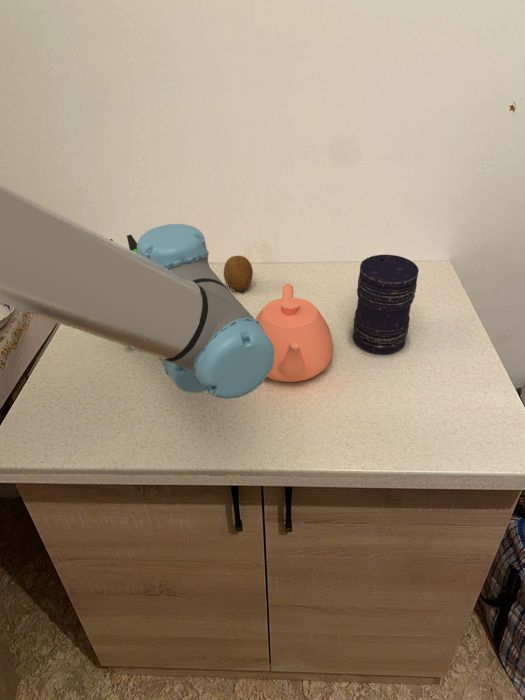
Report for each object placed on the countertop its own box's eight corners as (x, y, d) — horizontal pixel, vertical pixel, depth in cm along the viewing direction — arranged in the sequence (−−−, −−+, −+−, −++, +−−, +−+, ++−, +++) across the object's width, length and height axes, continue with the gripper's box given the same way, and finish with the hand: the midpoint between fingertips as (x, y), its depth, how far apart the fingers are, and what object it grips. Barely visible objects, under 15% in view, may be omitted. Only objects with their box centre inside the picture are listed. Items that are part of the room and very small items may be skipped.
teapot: (340, 406, 80) (346, 345, 73) (246, 408, 80) (242, 348, 73) (325, 325, 97) (329, 269, 90) (247, 328, 98) (244, 272, 90)
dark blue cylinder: (415, 350, 91) (430, 278, 81) (364, 359, 89) (373, 287, 80) (391, 320, 98) (403, 251, 89) (344, 327, 97) (350, 258, 88)
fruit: (221, 295, 107) (218, 262, 102) (229, 280, 112) (226, 248, 107) (249, 298, 106) (247, 264, 101) (256, 283, 111) (255, 250, 106)
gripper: (113, 348, 70) (80, 274, 87) (217, 317, 75) (167, 253, 92) (101, 303, 65) (68, 234, 82) (213, 273, 71) (161, 214, 87)
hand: (120, 244), depth 87 cm, fingers open, 3 cm apart
